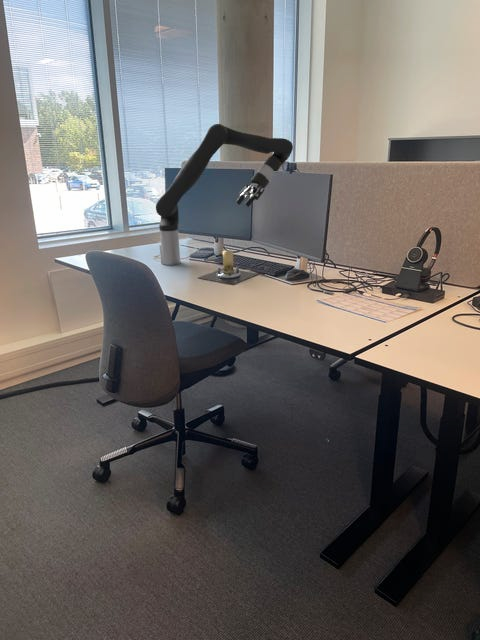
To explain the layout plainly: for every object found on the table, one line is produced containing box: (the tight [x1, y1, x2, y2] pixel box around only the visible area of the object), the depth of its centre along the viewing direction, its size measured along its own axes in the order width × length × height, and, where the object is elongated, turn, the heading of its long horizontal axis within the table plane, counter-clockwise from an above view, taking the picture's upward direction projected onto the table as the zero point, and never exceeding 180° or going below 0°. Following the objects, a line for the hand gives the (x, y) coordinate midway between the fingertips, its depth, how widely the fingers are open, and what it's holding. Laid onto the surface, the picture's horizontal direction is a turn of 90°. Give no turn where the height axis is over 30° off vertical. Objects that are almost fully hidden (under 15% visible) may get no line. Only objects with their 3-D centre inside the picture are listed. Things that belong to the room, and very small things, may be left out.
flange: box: [197, 266, 260, 286], centre depth 208 cm, size 20×20×4 cm
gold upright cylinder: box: [222, 249, 235, 274], centre depth 207 cm, size 5×5×10 cm
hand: (241, 204), depth 209 cm, fingers open, 8 cm apart
